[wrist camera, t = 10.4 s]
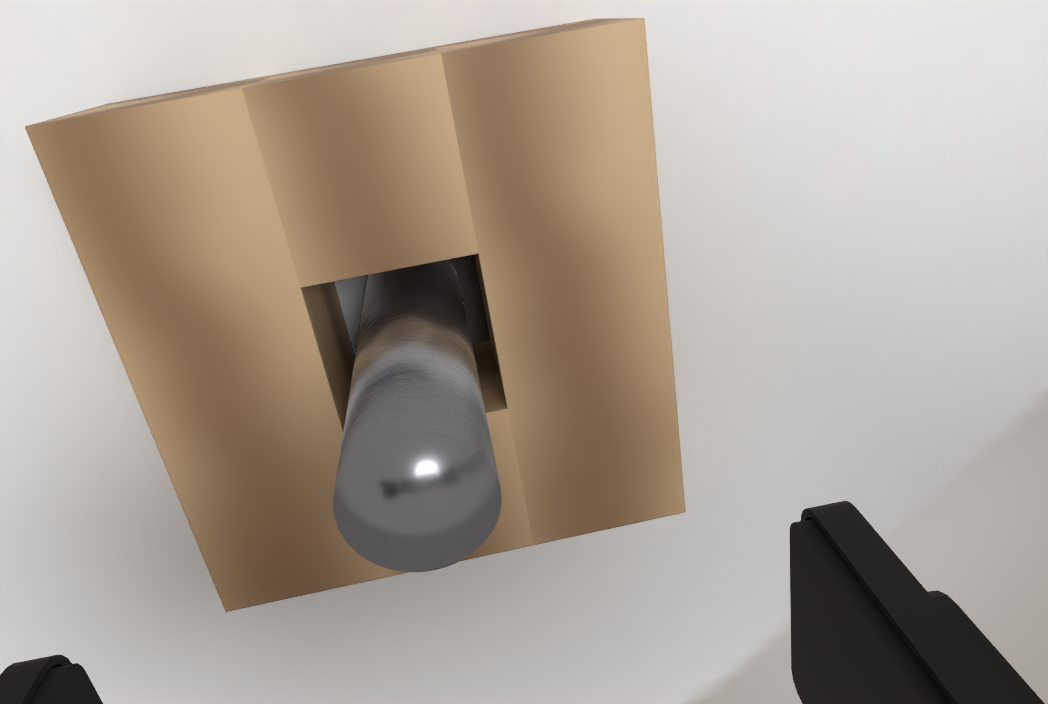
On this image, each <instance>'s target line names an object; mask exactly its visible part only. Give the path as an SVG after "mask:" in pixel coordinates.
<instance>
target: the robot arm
mask: <svg viewBox="0 0 1048 704" xmlns="http://www.w3.org/2000/svg"><path fill="white" fill-rule="evenodd" d="M790 588H791V660H792V661H791V662H792V663H791V664H792V666H791V667H792V675H793V680H794V684H795V687H796V689H797V693H798V695H799V697H800V699H801V701H802V703H803V704H1044V702H1043V701H1042V700H1041V699H1040V698H1039V697H1038V696H1037V695H1036V693H1035V692H1034V691H1033V690H1032V689H1031V688H1030V687H1029V685H1027V683H1026V682H1025V681H1024V680H1023V679H1022V678H1021V676H1020V675H1019V674H1018V673H1017V672H1016V671H1015V670H1014V669H1013V667H1012V666H1011V665H1010V664H1009V663H1008V662H1007V661H1006V659H1005V658H1004V657H1003V656H1002V655H1001V654H1000V653H999V652H998V650H997V649H996V648H995V647H994V646H993V645H992V644H991V642H990V641H989V640H988V639H987V638H986V637H985V636H984V634H983V633H982V632H981V631H980V630H979V629H978V628H977V627H976V625H975V624H974V623H973V622H972V621H971V620H970V619H969V618H968V616H967V615H966V614H965V613H964V612H963V611H962V609H961V608H960V607H959V606H958V605H957V604H956V603H955V602H954V601H953V600H952V599H951V598H950V597H948V596H947V595H946V594H944V593H942V592H940V591H930V592H927V591H926V590H925V589H924V588H923V586H922V585H921V584H920V583H919V582H918V581H917V579H916V578H915V577H914V576H913V575H912V573H911V572H910V571H909V570H908V569H907V567H906V566H905V565H904V564H903V563H902V562H901V560H900V559H899V558H898V557H897V556H896V555H895V554H894V552H893V551H892V550H891V549H890V547H889V546H888V545H887V544H886V543H885V542H884V540H883V539H882V538H881V537H880V536H879V534H878V533H877V532H876V531H875V530H874V529H873V527H872V526H871V525H870V524H869V523H868V521H867V520H866V519H865V518H864V517H863V516H862V514H861V513H860V512H859V511H858V510H857V509H856V507H855V506H854V505H852V504H851V503H850V502H847V501H843V502H837V503H832V504H827V505H822V506H817V507H812V508H807V509H805V510H803V512H802V515H801V521H799V522H794V523H792V524H791V526H790ZM0 704H103V703H102V701H101V699H100V697H99V695H98V694H97V692H96V690H95V688H94V686H93V684H92V682H91V681H90V679H89V677H88V675H87V673H86V671H85V670H84V668H83V667H82V666H81V665H79V664H72V663H71V662H70V661H69V659H68V658H66V657H65V656H63V655H54V656H49V657H44V658H39V659H34V660H29V661H24V662H19V663H14V664H12V665H10V666H8V667H7V668H6V669H5V670H4V671H3V672H2V674H1V675H0Z"/></svg>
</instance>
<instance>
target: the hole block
mask: <svg viewBox="0 0 1048 704" xmlns="http://www.w3.org/2000/svg"><path fill="white" fill-rule="evenodd" d="M25 129H26V131H27V133H28V136H29V138H30V141H31V143H32V146H33V148H34V150H35V153H36V155H37V158H38V160H39V162H40V165H41V167H42V170H43V172H44V174H45V177H46V179H47V182H48V184H49V187H50V189H51V191H52V194H53V196H54V199H55V201H56V203H57V206H58V208H59V211H60V213H61V215H62V218H63V220H64V223H65V225H66V228H67V230H68V232H69V235H70V237H71V240H72V242H73V244H74V247H75V249H76V252H77V254H78V256H79V259H80V261H81V264H82V266H83V269H84V271H85V273H86V276H87V278H88V281H89V283H90V285H91V288H92V290H93V293H94V295H95V297H96V300H97V302H98V305H99V307H100V310H101V312H102V314H103V317H104V319H105V322H106V324H107V326H108V329H109V331H110V334H111V336H112V338H113V341H114V343H115V346H116V348H117V351H118V353H119V355H120V358H121V360H122V363H123V365H124V367H125V370H126V372H127V375H128V377H129V379H130V382H131V384H132V387H133V389H134V392H135V394H136V396H137V399H138V401H139V404H140V406H141V408H142V411H143V413H144V416H145V418H146V420H147V423H148V425H149V428H150V430H151V433H152V435H153V437H154V440H155V442H156V445H157V447H158V449H159V452H160V454H161V457H162V459H163V461H164V464H165V466H166V469H167V471H168V474H169V476H170V478H171V481H172V483H173V486H174V488H175V490H176V493H177V495H178V498H179V500H180V502H181V505H182V507H183V510H184V512H185V515H186V517H187V519H188V522H189V524H190V527H191V529H192V531H193V534H194V536H195V539H196V541H197V543H198V546H199V548H200V551H201V553H202V556H203V558H204V560H205V563H206V565H207V568H208V570H209V572H210V575H211V577H212V580H213V582H214V584H215V587H216V589H217V592H218V594H219V597H220V599H221V601H222V604H223V606H224V609H225V611H226V612H228V611H232V610H237V609H242V608H246V607H251V606H255V605H260V604H265V603H269V602H274V601H278V600H283V599H288V598H292V597H297V596H301V595H306V594H311V593H315V592H320V591H325V590H329V589H334V588H338V587H343V586H348V585H352V584H357V583H361V582H366V581H371V580H375V579H380V578H384V577H389V576H394V575H398V574H403V573H408V572H403V571H397V570H392V569H388V568H384V567H382V566H379V565H376V564H374V563H372V562H370V561H368V560H367V559H365V558H363V557H362V556H361V555H359V554H358V553H357V552H356V551H354V550H353V549H352V548H351V547H350V546H349V544H348V543H347V542H346V541H345V540H344V538H343V536H342V535H341V533H340V531H339V529H338V527H337V524H336V521H335V517H334V512H333V498H334V490H335V483H336V477H337V471H338V464H339V458H340V451H341V445H342V438H343V432H344V425H345V419H346V413H347V406H348V400H349V393H350V387H351V380H352V374H353V368H354V361H355V357H354V353H353V349H352V346H351V342H350V338H349V335H348V331H347V327H346V324H345V320H344V317H343V313H342V309H341V306H340V302H339V298H338V295H337V291H336V287H335V284H334V281H338V280H343V279H348V278H353V277H358V276H364V275H369V274H374V273H379V272H385V271H390V270H395V269H400V268H405V267H411V266H416V265H421V264H426V263H431V262H437V261H442V260H447V259H452V258H457V257H463V256H468V255H473V254H474V257H475V262H476V268H477V273H478V278H479V283H480V289H481V294H482V299H483V304H484V310H485V315H486V320H487V325H488V331H489V336H490V340H487V341H482V342H477V343H472V347H473V352H474V357H475V362H476V367H477V372H478V377H479V382H480V387H481V392H482V397H483V402H484V407H485V412H486V417H487V422H488V427H489V432H490V437H491V442H492V447H493V452H494V457H495V462H496V467H497V472H498V477H499V482H500V487H501V494H502V503H501V510H500V515H499V518H498V521H497V523H496V525H495V527H494V529H493V531H492V533H491V534H490V535H489V537H488V538H487V540H486V541H485V542H484V543H483V544H482V545H481V546H480V547H479V548H478V549H477V550H476V551H474V552H473V553H472V554H470V555H469V556H467V557H466V558H464V559H462V560H461V561H463V560H467V559H472V558H477V557H481V556H486V555H490V554H495V553H500V552H504V551H509V550H514V549H518V548H523V547H527V546H532V545H537V544H541V543H546V542H550V541H555V540H560V539H564V538H569V537H573V536H578V535H583V534H587V533H592V532H597V531H601V530H606V529H610V528H615V527H620V526H624V525H629V524H633V523H638V522H643V521H647V520H652V519H656V518H661V517H666V516H670V515H675V514H680V513H684V512H685V501H684V489H683V477H682V465H681V453H680V440H679V428H678V416H677V404H676V392H675V380H674V368H673V356H672V344H671V332H670V320H669V308H668V296H667V284H666V272H665V260H664V248H663V236H662V224H661V212H660V200H659V188H658V176H657V164H656V152H655V140H654V128H653V116H652V104H651V92H650V80H649V68H648V56H647V44H646V32H645V20H644V18H624V19H592V20H586V21H581V22H575V23H569V24H563V25H558V26H552V27H546V28H541V29H535V30H529V31H523V32H518V33H512V34H506V35H500V36H495V37H489V38H483V39H477V40H472V41H466V42H460V43H454V44H449V45H443V46H437V47H432V48H426V49H420V50H414V51H409V52H403V53H397V54H391V55H386V56H380V57H374V58H368V59H363V60H357V61H351V62H345V63H340V64H334V65H328V66H323V67H317V68H311V69H305V70H300V71H294V72H288V73H282V74H277V75H271V76H265V77H259V78H254V79H248V80H242V81H236V82H231V83H225V84H219V85H214V86H208V87H202V88H196V89H191V90H185V91H179V92H173V93H168V94H162V95H156V96H150V97H145V98H139V99H133V100H127V101H122V102H116V103H110V104H105V105H102V106H98V107H94V108H91V109H87V110H84V111H80V112H76V113H73V114H69V115H65V116H62V117H58V118H54V119H51V120H47V121H44V122H40V123H36V124H33V125H29V126H25Z"/></svg>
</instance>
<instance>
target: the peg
mask: <svg viewBox="0 0 1048 704" xmlns="http://www.w3.org/2000/svg"><path fill="white" fill-rule="evenodd" d="M501 503H502V494H501V487H500V482H499V477H498V472H497V467H496V462H495V457H494V452H493V447H492V442H491V437H490V432H489V427H488V422H487V417H486V412H485V407H484V402H483V397H482V392H481V387H480V382H479V377H478V372H477V367H476V362H475V357H474V352H473V347H472V342H471V337H470V332H469V327H468V322H467V317H466V312H465V307H464V302H463V297H462V292H461V287H460V282H459V278H458V275H457V273H456V270H455V269H454V267H453V265H452V264H451V263H450V262H449V260H448V259H447V260H442V261H437V262H431V263H426V264H421V265H416V266H411V267H405V268H400V269H395V270H390V271H385V272H379V273H374V274H369V275H368V279H367V284H366V290H365V297H364V303H363V310H362V316H361V322H360V329H359V335H358V342H357V348H356V355H355V361H354V368H353V374H352V380H351V387H350V393H349V400H348V406H347V413H346V419H345V425H344V432H343V438H342V445H341V451H340V458H339V464H338V471H337V477H336V483H335V490H334V498H333V512H334V517H335V521H336V524H337V527H338V529H339V531H340V533H341V535H342V536H343V538H344V540H345V541H346V542H347V543H348V544H349V546H350V547H351V548H352V549H353V550H354V551H356V552H357V553H358V554H359V555H361V556H362V557H363V558H365V559H367V560H368V561H370V562H372V563H374V564H376V565H379V566H382V567H384V568H388V569H392V570H397V571H403V572H425V571H431V570H437V569H440V568H444V567H447V566H450V565H452V564H455V563H457V562H459V561H461V560H462V559H464V558H466V557H467V556H469V555H470V554H472V553H473V552H474V551H476V550H477V549H478V548H479V547H480V546H481V545H482V544H483V543H484V542H485V541H486V540H487V538H488V537H489V535H490V534H491V533H492V531H493V529H494V527H495V525H496V523H497V521H498V518H499V515H500V510H501Z"/></svg>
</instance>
